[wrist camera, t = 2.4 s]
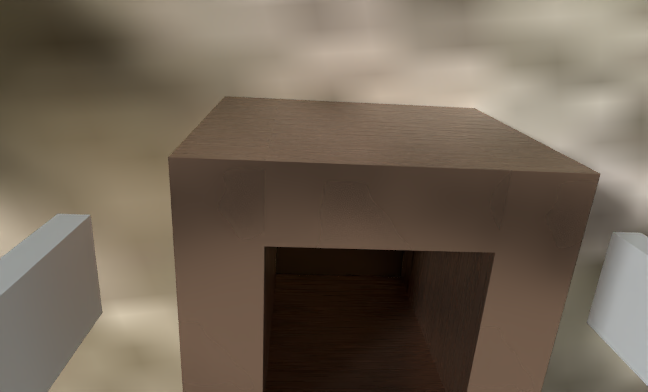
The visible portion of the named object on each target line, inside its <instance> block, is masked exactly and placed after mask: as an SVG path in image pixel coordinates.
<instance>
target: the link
mask: <svg viewBox="0 0 648 392" xmlns="http://www.w3.org/2000/svg"><path fill="white" fill-rule="evenodd" d="M168 161H169V177H170V193H171V209H172V224H173V240H174V256H175V272H176V288H177V304H178V320H179V336H180V352H181V368H182V384H183V392H541V389H542V386H543V382H544V378H545V375H546V371H547V367H548V364H549V360H550V356H551V353H552V349H553V345H554V342H555V338H556V334H557V331H558V327H559V323H560V320H561V316H562V312H563V309H564V305H565V301H566V298H567V294H568V290H569V287H570V283H571V279H572V276H573V272H574V268H575V265H576V261H577V258H578V254H579V250H580V247H581V243H582V239H583V236H584V232H585V228H586V225H587V221H588V217H589V214H590V210H591V206H592V203H593V199H594V195H595V192H596V188H597V184H598V181H599V177H600V173H598V172H596V171H594V170H592V169H590V168H588V167H586V166H584V165H582V164H580V163H578V162H577V161H575V160H573V159H571V158H569V157H567V156H565V155H563V154H561V153H559V152H557V151H555V150H553V149H552V148H550V147H548V146H546V145H544V144H542V143H540V142H538V141H536V140H534V139H532V138H530V137H528V136H527V135H525V134H523V133H521V132H519V131H517V130H515V129H513V128H511V127H509V126H507V125H505V124H503V123H502V122H500V121H498V120H496V119H494V118H492V117H490V116H488V115H486V114H484V113H482V112H480V111H478V110H477V109H475V108H455V107H434V106H413V105H392V104H371V103H350V102H328V101H307V100H286V99H265V98H244V97H224V98H223V99H222V100H221V101H220V102H219V103H218V105H217V106H216V107H215V108H214V109H213V110H212V111H211V112H210V113H209V114H208V115H207V116H206V117H205V118H204V119H203V121H202V122H201V123H200V124H199V125H198V126H197V127H196V128H195V129H194V130H193V131H192V132H191V133H190V134H189V136H188V137H187V138H186V139H185V140H184V141H183V142H182V143H181V144H180V145H179V146H178V147H177V148H176V149H175V150H174V152H173V153H172V154H171V155H170V156H169V157H168ZM277 247H305V248H342V249H379V250H404V254H403V262H402V270H401V277H382V276H339V275H296V274H276V250H277Z"/></svg>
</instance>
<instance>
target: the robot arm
mask: <svg viewBox="0 0 648 392" xmlns="http://www.w3.org/2000/svg"><path fill="white" fill-rule="evenodd" d="M101 314H102V306H101V298H100V289H99V281H98V273H97V265H96V256H95V248H94V240H93V231H92V223H91V215H81V214H57V215H56V216H54V217H53V218H52V219H50V220H49V221H48V222H46V223H45V224H44V225H43V226H41V227H40V228H39V229H37V230H36V231H35V232H34V233H32V234H31V235H30V236H28V237H27V238H26V239H24V240H23V241H22V242H21V243H19V244H18V245H17V246H15V247H14V248H13V249H12V250H10V251H9V252H8V253H6V254H5V255H4V256H2V257H1V258H0V392H48V390H49V389H50V387H51V386H52V384H53V383H54V382H55V380H56V379H57V377H58V376H59V374H60V373H61V371H62V370H63V369H64V367H65V366H66V364H67V363H68V361H69V360H70V358H71V357H72V356H73V354H74V353H75V351H76V350H77V348H78V347H79V346H80V344H81V343H82V341H83V340H84V338H85V337H86V335H87V334H88V333H89V331H90V330H91V328H92V327H93V325H94V324H95V322H96V321H97V320H98V318H99V317H100V315H101ZM587 323H588V324H589V325H590V326H591V328H592V329H593V330H594V331H595V332H596V333H597V334H598V335H599V336H600V337H601V338H602V339H603V340H604V341H605V342H606V343H607V344H608V345H609V346H610V347H611V348H612V349H613V350H614V351H615V353H616V354H617V355H618V356H619V357H620V358H621V359H622V360H623V361H624V362H625V363H626V364H627V365H628V366H629V367H630V368H631V369H632V370H633V371H634V372H635V373H636V374H637V375H638V376H639V377H640V379H641V380H642V381H643V382H644V383H645V384H646V385H647V386H648V237H647V236H645V235H644V234H642V233H634V232H612V235H611V239H610V242H609V246H608V249H607V253H606V256H605V260H604V263H603V267H602V270H601V274H600V277H599V281H598V284H597V288H596V291H595V295H594V299H593V302H592V306H591V309H590V313H589V316H588V320H587Z"/></svg>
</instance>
